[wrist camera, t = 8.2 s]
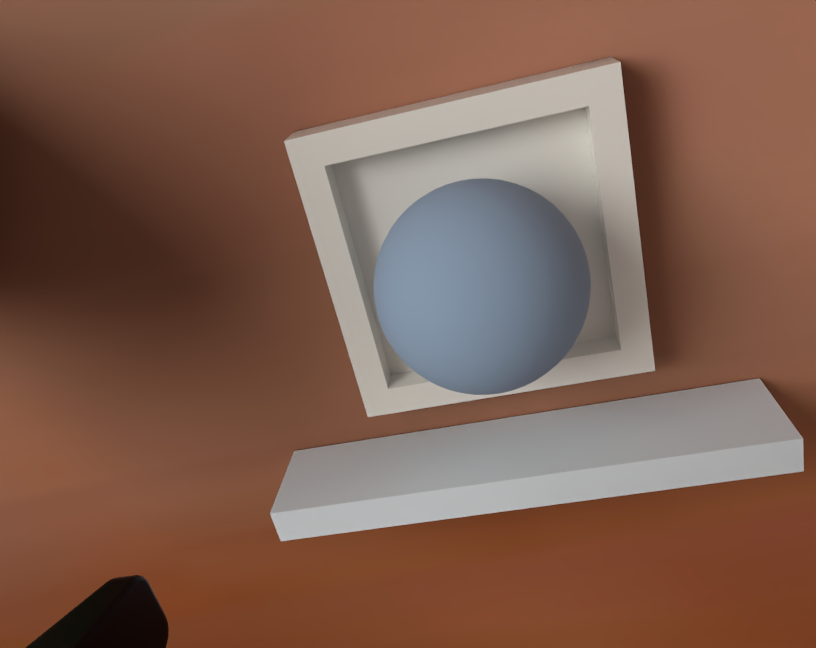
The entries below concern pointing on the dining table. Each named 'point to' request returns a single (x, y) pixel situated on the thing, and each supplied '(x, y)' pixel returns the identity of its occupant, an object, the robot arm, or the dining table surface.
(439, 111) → the coaster
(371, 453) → the wall
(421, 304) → the ball
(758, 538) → the dining table surface
